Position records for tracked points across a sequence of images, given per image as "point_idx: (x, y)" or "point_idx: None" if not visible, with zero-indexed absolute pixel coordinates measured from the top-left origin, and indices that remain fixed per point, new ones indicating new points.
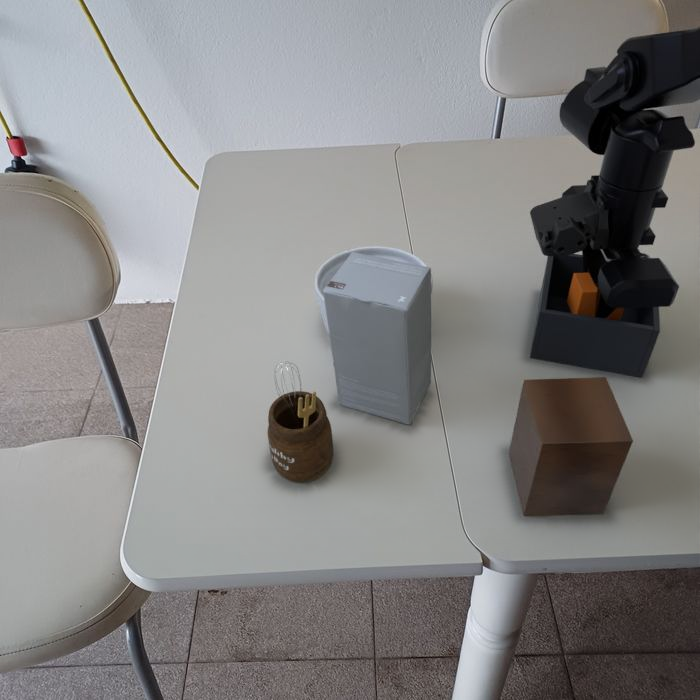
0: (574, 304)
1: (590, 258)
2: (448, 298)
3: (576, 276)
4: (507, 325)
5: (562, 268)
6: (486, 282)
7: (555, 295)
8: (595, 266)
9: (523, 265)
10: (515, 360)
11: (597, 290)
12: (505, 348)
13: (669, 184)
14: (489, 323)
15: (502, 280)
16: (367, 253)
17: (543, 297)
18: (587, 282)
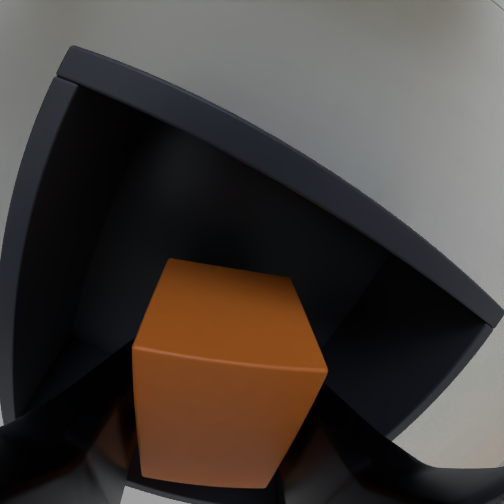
0: (207, 287)
1: (339, 480)
2: (445, 13)
3: (293, 374)
4: (315, 83)
5: (428, 325)
6: (479, 130)
7: (380, 271)
8: (310, 460)
9: (491, 247)
10: (157, 49)
11: (99, 412)
12: (214, 38)
13: (464, 465)
14: (336, 41)
15: (475, 172)
16: None
17: (190, 104)
18: (219, 401)
